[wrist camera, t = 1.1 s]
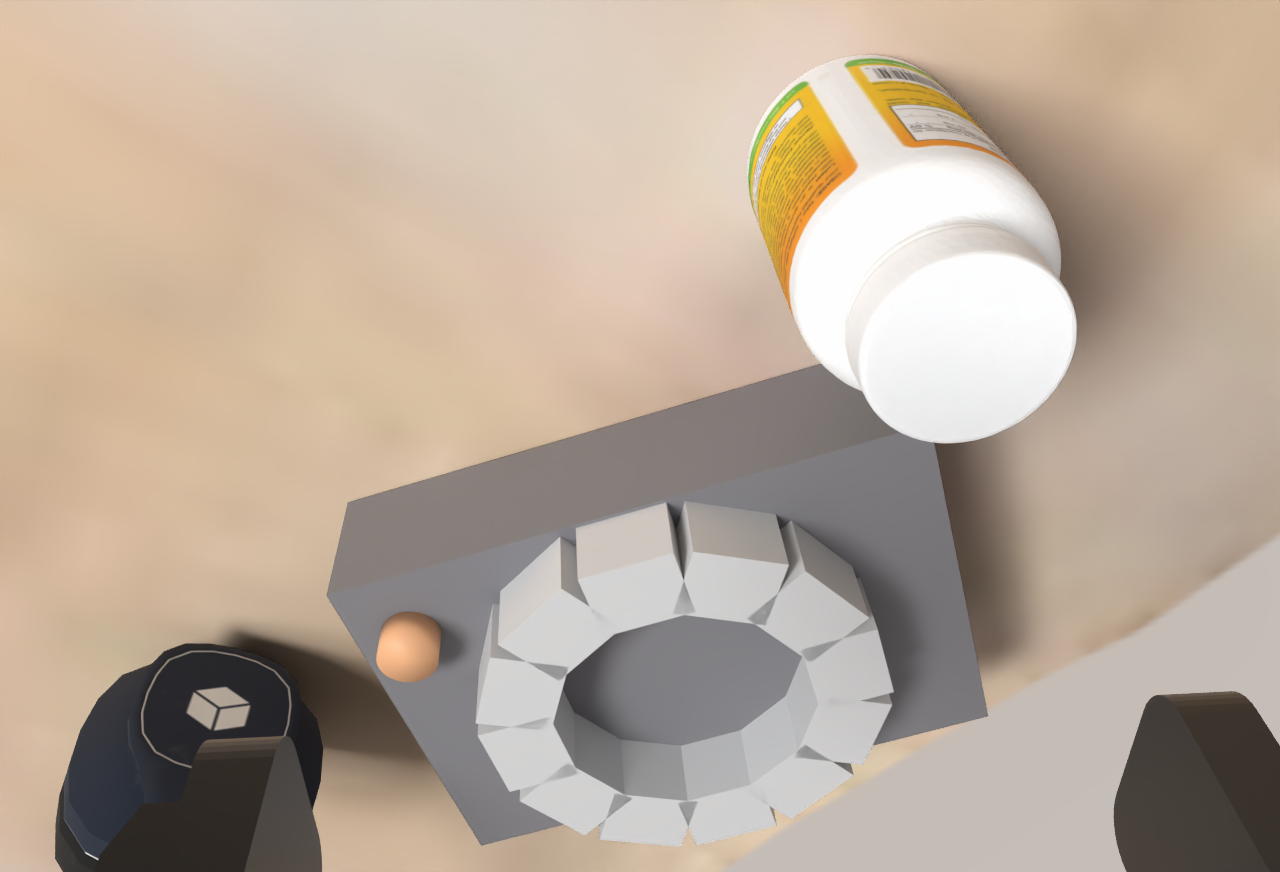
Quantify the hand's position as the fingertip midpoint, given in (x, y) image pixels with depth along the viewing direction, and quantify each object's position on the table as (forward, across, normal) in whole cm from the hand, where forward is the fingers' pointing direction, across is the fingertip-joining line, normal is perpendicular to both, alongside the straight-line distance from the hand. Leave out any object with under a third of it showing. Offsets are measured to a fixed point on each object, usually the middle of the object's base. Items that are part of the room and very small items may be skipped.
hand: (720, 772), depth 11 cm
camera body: (+20, -1, +15) cm, 25 cm away
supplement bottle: (+20, -6, +2) cm, 21 cm away
